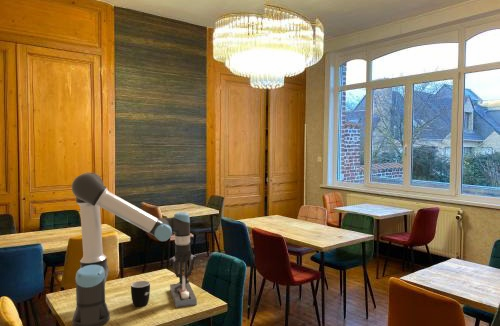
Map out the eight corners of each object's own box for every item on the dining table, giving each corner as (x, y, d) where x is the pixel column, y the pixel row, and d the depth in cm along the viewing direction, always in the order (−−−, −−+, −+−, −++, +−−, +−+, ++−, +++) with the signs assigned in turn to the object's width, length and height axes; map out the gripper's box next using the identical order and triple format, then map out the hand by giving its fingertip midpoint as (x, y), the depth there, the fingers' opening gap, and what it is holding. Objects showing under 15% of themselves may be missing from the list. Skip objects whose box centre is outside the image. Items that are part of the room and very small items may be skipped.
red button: (180, 298, 187) (180, 292, 186) (179, 295, 190) (179, 289, 190) (187, 297, 188) (187, 291, 188) (186, 294, 191) (186, 288, 191)
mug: (145, 308, 178) (145, 287, 177) (127, 307, 179) (127, 286, 179) (155, 298, 189) (155, 279, 189) (138, 297, 191) (138, 278, 190)
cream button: (181, 300, 181) (181, 294, 181) (180, 297, 184) (180, 291, 184) (189, 299, 182) (189, 293, 182) (188, 296, 186) (188, 290, 186)
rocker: (175, 290, 192) (174, 288, 191) (174, 287, 195) (173, 285, 195) (189, 281, 194) (188, 279, 194) (188, 279, 198) (187, 277, 197)
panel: (175, 307, 178) (175, 298, 178) (170, 289, 201) (170, 281, 201) (196, 304, 182) (196, 295, 181) (188, 287, 204) (188, 279, 204)
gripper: (170, 246, 182) (171, 294, 183) (196, 244, 187) (197, 290, 187) (168, 243, 190) (169, 289, 190) (194, 240, 194) (195, 285, 195)
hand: (183, 289), depth 189 cm, fingers closed
